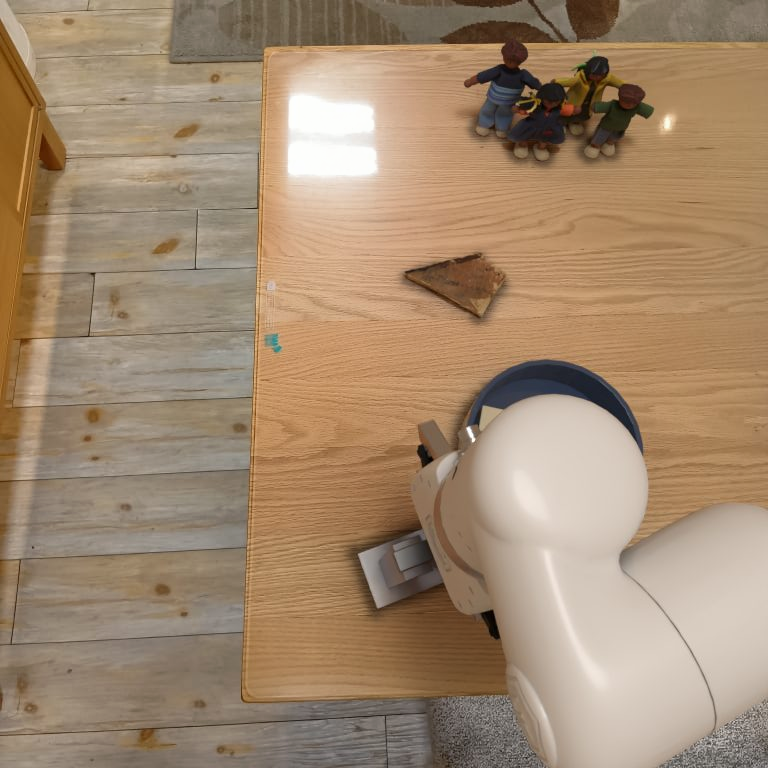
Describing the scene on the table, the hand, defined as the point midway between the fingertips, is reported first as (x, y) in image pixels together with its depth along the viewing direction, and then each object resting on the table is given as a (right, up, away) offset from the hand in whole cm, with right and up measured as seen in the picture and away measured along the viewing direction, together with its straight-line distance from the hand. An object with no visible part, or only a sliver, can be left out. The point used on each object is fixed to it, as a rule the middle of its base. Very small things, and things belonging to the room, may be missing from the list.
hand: (452, 542), depth 55 cm
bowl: (+12, +5, +23) cm, 27 cm away
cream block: (+6, +8, +23) cm, 25 cm away
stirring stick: (0, 0, 0) cm, 1 cm away
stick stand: (-1, -6, +18) cm, 19 cm away
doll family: (+16, +46, +37) cm, 62 cm away
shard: (+4, +24, +29) cm, 38 cm away
